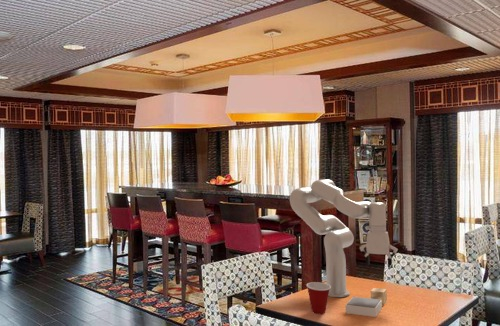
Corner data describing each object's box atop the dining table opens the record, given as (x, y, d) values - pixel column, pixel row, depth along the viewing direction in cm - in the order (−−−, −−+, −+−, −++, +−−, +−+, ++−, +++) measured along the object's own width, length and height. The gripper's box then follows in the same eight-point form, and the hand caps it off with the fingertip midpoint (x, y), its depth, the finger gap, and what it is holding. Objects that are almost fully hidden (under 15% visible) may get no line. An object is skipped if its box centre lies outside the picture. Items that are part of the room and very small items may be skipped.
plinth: (345, 313, 210) (345, 304, 210) (353, 304, 222) (353, 296, 222) (375, 317, 204) (375, 307, 204) (381, 308, 216) (381, 299, 216)
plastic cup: (325, 317, 205) (325, 289, 205) (302, 313, 210) (302, 286, 210) (335, 310, 214) (334, 283, 214) (313, 306, 220) (312, 280, 220)
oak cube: (370, 303, 223) (370, 291, 223) (373, 300, 228) (373, 287, 228) (384, 305, 220) (383, 292, 220) (386, 301, 226) (386, 289, 226)
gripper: (357, 229, 224) (358, 266, 224) (395, 230, 217) (396, 268, 217) (361, 227, 231) (362, 262, 231) (398, 228, 223) (399, 265, 223)
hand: (378, 265), depth 224 cm, fingers open, 9 cm apart
